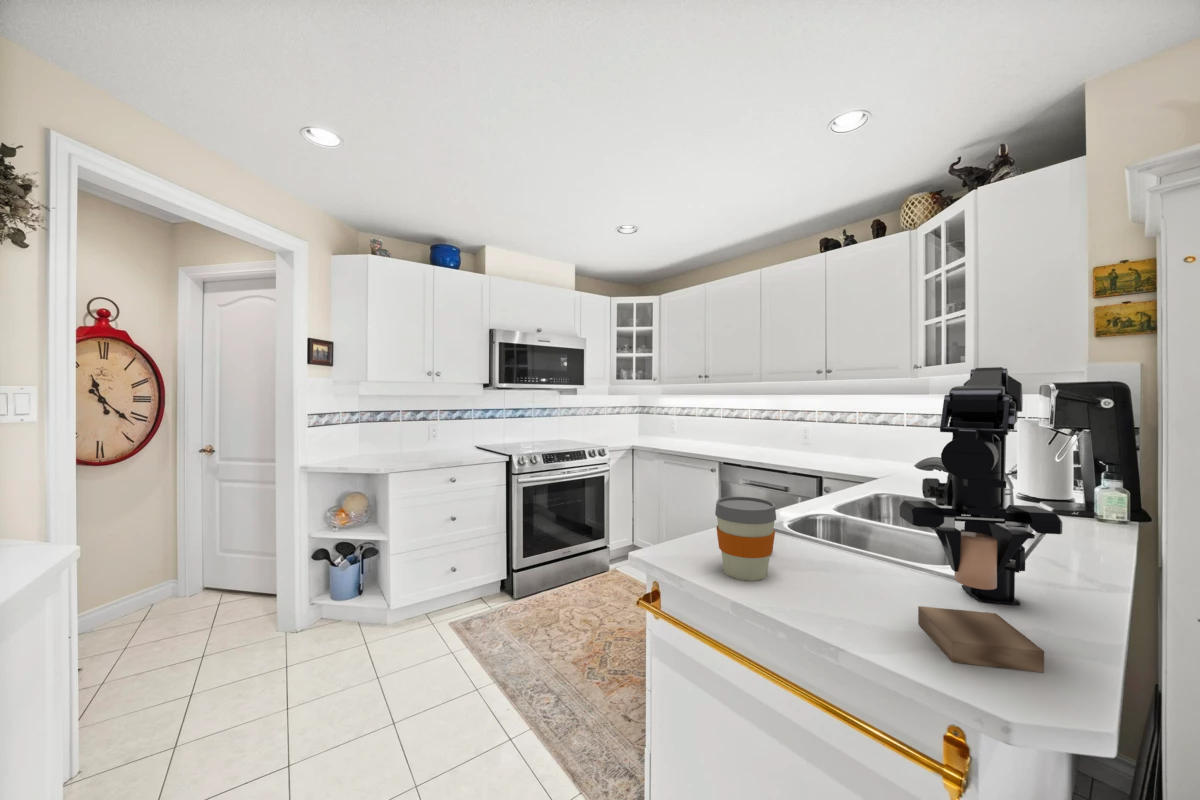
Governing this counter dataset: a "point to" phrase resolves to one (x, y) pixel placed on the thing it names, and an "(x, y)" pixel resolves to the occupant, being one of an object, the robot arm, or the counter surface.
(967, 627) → the walnut block
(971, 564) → the tan cylinder
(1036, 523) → the robot arm
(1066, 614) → the counter surface
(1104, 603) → the counter surface
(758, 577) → the reusable coffee cup
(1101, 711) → the counter surface
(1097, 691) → the counter surface
